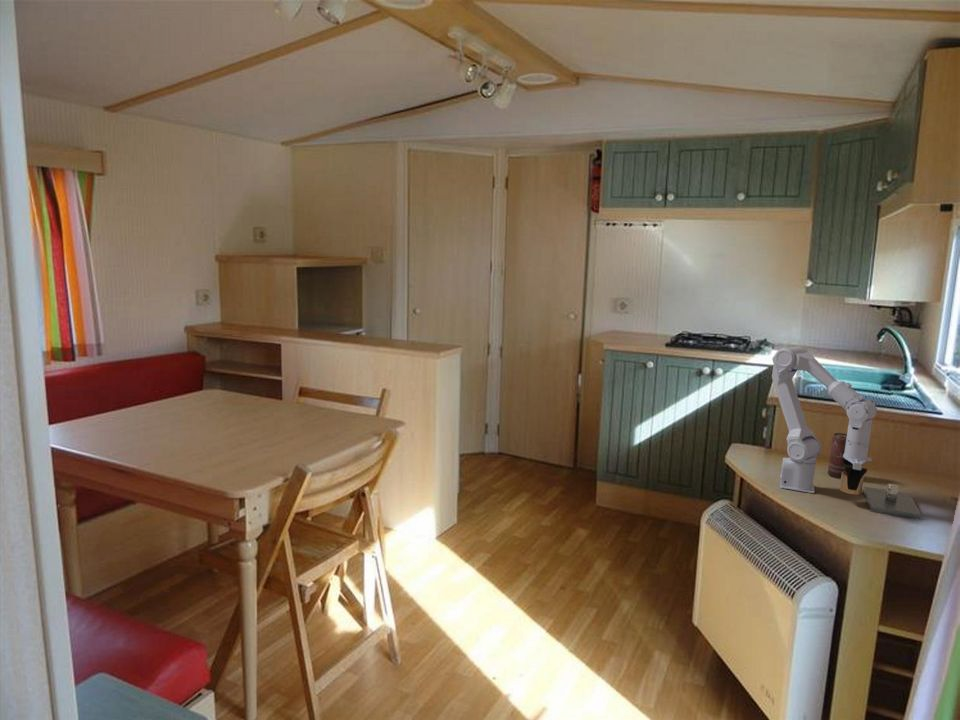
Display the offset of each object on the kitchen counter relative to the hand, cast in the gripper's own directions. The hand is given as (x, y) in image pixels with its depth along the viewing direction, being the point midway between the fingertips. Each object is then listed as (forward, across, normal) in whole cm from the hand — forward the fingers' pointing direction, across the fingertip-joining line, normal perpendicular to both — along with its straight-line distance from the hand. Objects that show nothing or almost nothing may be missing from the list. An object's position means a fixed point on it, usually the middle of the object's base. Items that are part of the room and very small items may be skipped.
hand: (851, 486), depth 190 cm
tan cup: (+1, 0, 0) cm, 1 cm away
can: (+6, +26, +1) cm, 26 cm away
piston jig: (+5, +5, -11) cm, 13 cm away
